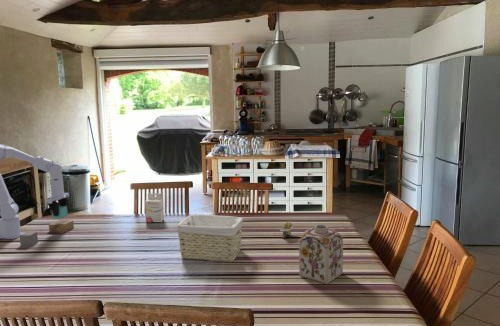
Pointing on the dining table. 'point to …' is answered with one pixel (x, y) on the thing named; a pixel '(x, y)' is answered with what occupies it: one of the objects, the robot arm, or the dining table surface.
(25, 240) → the gray cube
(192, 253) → the storage basket
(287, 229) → the small potted plant
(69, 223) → the base block
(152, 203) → the ink cartridge box
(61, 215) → the teal cube
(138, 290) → the dining table surface
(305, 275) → the decorative jar
